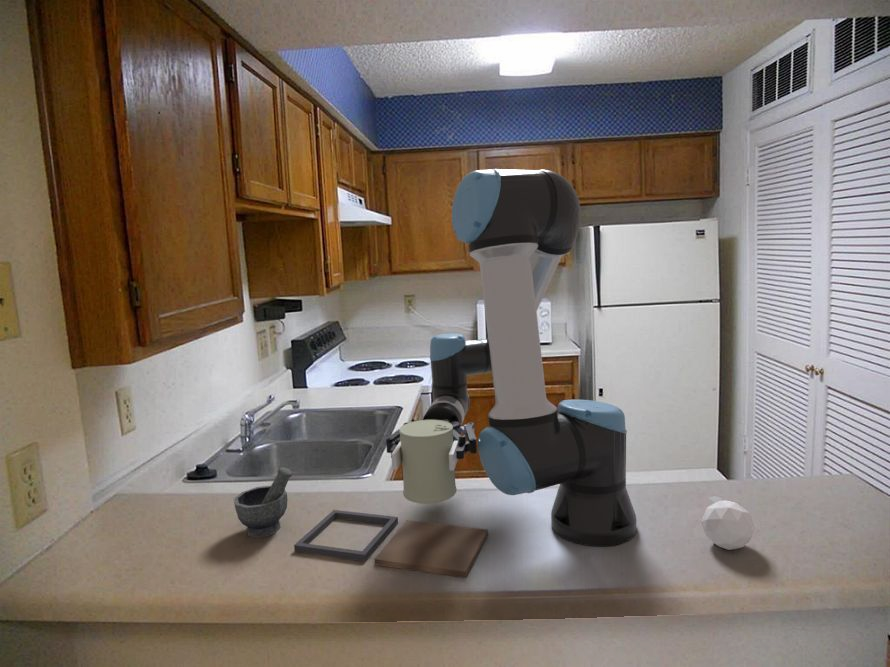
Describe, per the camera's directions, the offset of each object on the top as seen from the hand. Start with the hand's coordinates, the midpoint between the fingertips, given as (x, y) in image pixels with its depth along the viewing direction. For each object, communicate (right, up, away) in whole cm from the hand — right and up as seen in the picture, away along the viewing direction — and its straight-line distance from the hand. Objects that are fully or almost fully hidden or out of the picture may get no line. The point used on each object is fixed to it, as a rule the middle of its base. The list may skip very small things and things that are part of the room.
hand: (422, 462), depth 92 cm
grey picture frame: (-14, -17, +13) cm, 26 cm away
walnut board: (+2, -17, +7) cm, 18 cm away
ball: (+51, -15, +3) cm, 53 cm away
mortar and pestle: (-31, -17, +18) cm, 39 cm away
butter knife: (+58, -14, +9) cm, 60 cm away
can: (+1, -7, +6) cm, 9 cm away
